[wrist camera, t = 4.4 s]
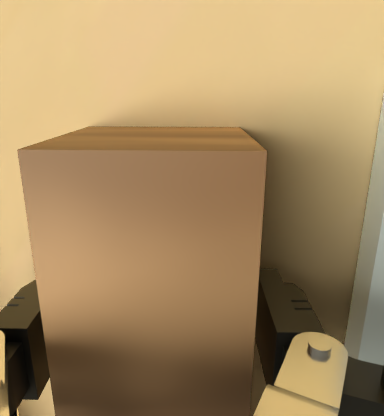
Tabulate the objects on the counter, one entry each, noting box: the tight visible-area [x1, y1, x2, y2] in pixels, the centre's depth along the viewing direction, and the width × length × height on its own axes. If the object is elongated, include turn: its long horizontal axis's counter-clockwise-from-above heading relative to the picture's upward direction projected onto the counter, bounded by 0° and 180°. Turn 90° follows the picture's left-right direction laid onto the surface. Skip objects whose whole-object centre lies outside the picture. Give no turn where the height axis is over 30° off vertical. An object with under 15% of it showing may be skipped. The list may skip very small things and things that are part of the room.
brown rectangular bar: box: [17, 127, 267, 416], centre depth 12 cm, size 16×5×5 cm, turn 0°
